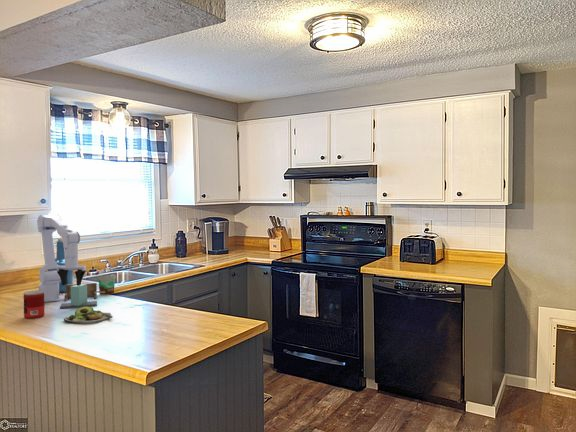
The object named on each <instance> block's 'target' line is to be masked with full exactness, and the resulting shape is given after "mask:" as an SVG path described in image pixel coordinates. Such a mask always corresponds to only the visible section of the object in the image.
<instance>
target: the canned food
mask: <svg viewBox="0 0 576 432" xmlns="http://www.w3.org/2000/svg"><path fill="white" fill-rule="evenodd" d="M23 316H24V319H26V320H33V319H39V318H43V317H44V316H45V302H44V291H42V290H39V289H38V290H29V291H25V292H23Z"/></svg>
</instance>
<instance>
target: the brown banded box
mask: <svg viewBox="0 0 576 432" xmlns="http://www.w3.org/2000/svg"><path fill="white" fill-rule="evenodd" d="M84 284H87V298H91V296H92V297H94V300H97V297H98V295H97V293H98V287H97V286H98V284H97V282H89V283H88V282H87V283H84ZM74 285H77V283H74V284H68V285H66V292H64V293H65V294H64V302H67V301H68V299H71V286H74Z"/></svg>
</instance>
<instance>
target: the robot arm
mask: <svg viewBox="0 0 576 432" xmlns="http://www.w3.org/2000/svg"><path fill="white" fill-rule="evenodd" d="M36 222H37V223H36V224H37V225H36V226H37V229H38V230H37V231H38V232H39V233H41V241H42V248H43V249H42V250H43V251H42V252H43V256H44V257H43V258H44V265H42V267H41V268H39V276H38V278H39V279H38V280H39V282H40V283H39V284H38V290H42V291H44V303H45V302H46V303H47V302H57V301H58V302H59V301H60V300H61V296H60V293H59V283H60V281H62V284H63V285H66V284H67V273H68V270H74V273H75V278H76V284H77V286H79V285H81V284H82V281H83V277H84V276H85V273H86V272H87V266H86V265H79V251H78V249H79V246H78V245H79V243H80V241H81V235H80V233H79V231H73V229H71V228H70V227H69V225H67V224H64V223H63V222H62V218H61V216H60V215H59V214H44V215H43V214H40V215H38V217H37V219H36ZM54 232H55V233H57V234H58V235H59V236H60V237H61V239H62V241H63V247H64V250H65V266H59V265H57V264H56V262H55V258H56V254H55V245H54V238H53V233H54ZM48 270H49V271H48Z"/></svg>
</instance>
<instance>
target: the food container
mask: <svg viewBox="0 0 576 432" xmlns="http://www.w3.org/2000/svg"><path fill="white" fill-rule="evenodd" d="M116 279H117V276H116V274H115V273H110V274H108V275H104V276H98V277H97V281H98V289H99V290H98V291H99V292H98V293H99V295H111V294H113V293H114V294H115V282H116V281H115V280H116Z"/></svg>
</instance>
